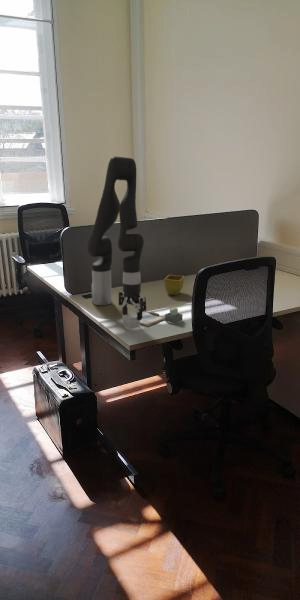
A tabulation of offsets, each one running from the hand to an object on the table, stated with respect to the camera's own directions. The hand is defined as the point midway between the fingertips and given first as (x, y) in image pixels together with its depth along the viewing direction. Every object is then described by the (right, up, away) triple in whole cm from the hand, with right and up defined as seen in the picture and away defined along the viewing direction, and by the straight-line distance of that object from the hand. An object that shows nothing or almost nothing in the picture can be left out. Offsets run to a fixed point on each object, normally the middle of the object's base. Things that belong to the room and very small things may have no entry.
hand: (132, 317), depth 186 cm
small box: (-1, -4, +2) cm, 4 cm away
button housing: (+18, -2, +8) cm, 20 cm away
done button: (+18, 0, +7) cm, 20 cm away
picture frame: (+6, -1, +10) cm, 11 cm away
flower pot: (+20, +11, +45) cm, 50 cm away
